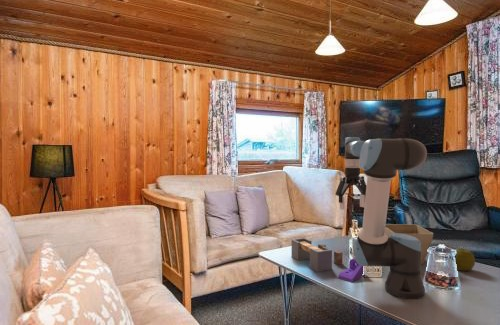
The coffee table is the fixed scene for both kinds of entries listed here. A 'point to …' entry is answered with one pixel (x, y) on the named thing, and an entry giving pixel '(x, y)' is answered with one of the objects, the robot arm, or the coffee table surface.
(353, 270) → the bracket
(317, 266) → the end caps
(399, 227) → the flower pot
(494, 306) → the coffee table surface
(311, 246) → the slat
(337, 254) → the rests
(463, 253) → the apple
